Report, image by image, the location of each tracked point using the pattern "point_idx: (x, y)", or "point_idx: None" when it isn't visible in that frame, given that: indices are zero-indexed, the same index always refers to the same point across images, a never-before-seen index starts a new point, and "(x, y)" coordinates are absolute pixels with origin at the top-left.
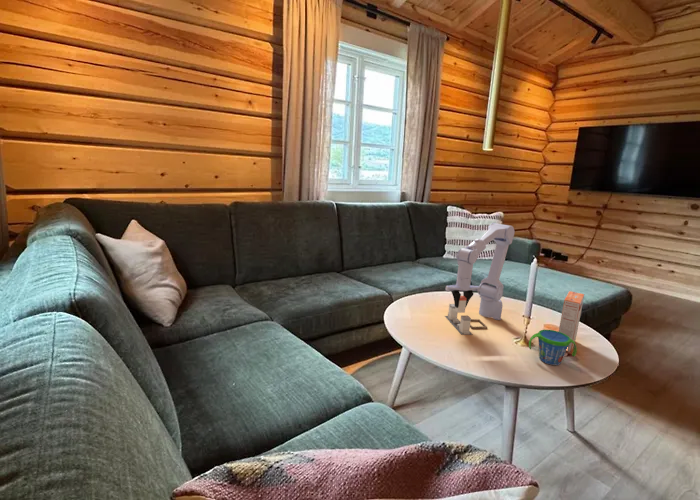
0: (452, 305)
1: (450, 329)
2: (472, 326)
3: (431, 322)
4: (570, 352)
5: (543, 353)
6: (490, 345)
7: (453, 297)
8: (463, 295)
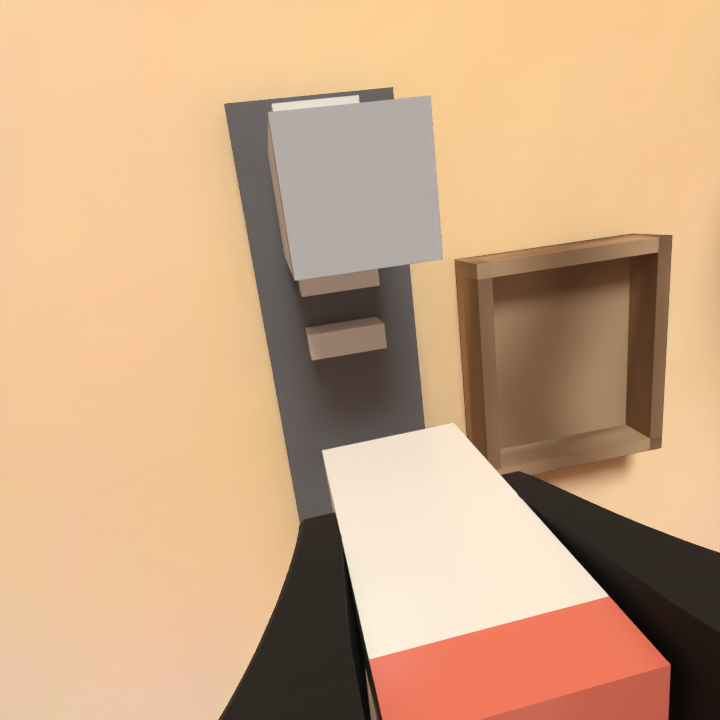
0: (319, 222)
1: (247, 453)
2: (501, 466)
3: (13, 287)
4: None
5: None
6: None
7: (242, 682)
8: (682, 620)
